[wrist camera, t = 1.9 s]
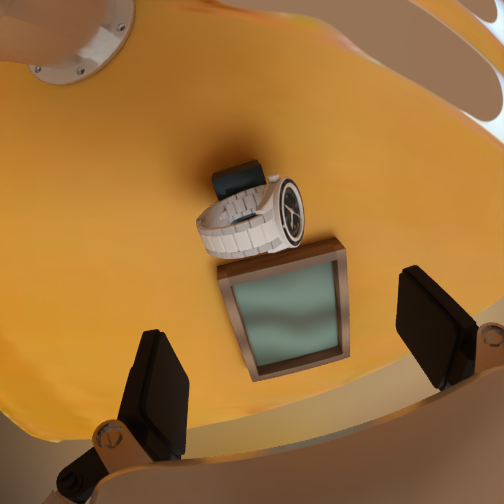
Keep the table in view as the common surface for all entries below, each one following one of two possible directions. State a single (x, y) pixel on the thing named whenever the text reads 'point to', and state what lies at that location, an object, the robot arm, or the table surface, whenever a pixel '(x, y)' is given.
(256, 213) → the watch
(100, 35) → the robot arm
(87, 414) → the table surface
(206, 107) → the table surface
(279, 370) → the watch tray
